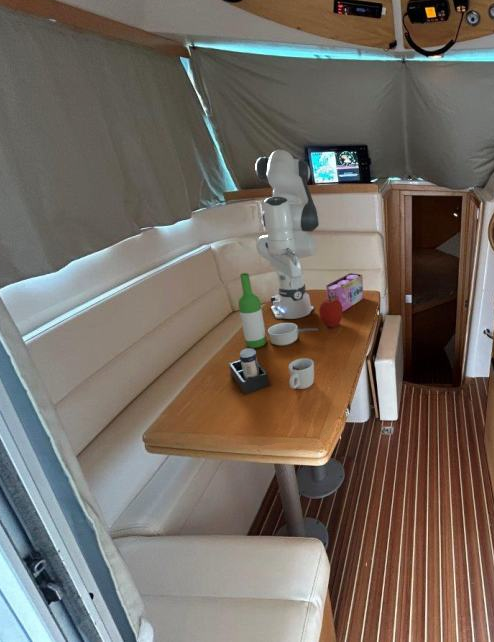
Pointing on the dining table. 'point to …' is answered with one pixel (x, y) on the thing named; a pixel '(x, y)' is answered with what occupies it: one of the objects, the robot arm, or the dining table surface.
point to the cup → (301, 373)
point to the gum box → (346, 290)
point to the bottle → (251, 315)
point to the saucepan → (285, 333)
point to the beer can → (249, 363)
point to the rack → (250, 383)
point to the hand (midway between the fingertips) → (287, 283)
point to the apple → (331, 312)
